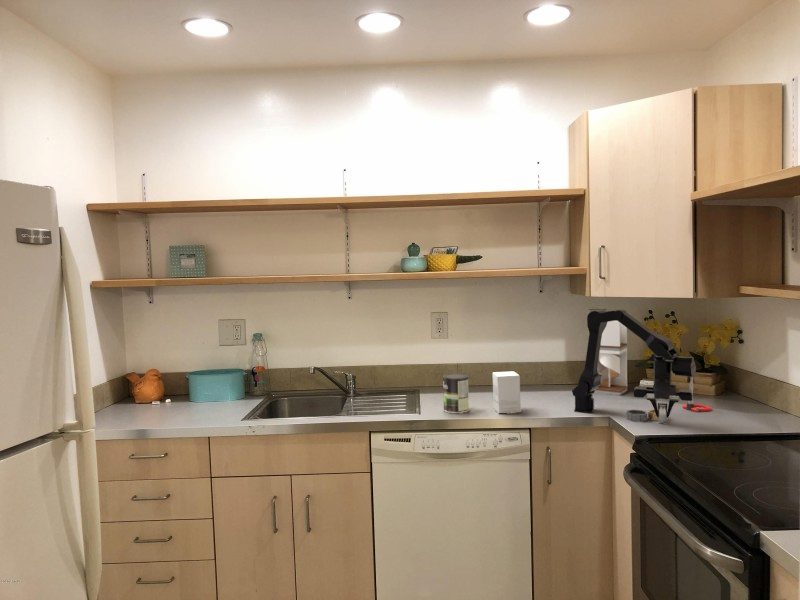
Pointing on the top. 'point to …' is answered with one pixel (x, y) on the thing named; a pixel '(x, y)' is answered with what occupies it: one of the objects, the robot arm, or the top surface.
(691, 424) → the top surface
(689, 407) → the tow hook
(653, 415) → the small brass socket
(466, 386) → the coffee can
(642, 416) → the wide steel socket
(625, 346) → the spiral ramp tower
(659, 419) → the round-tipped metal peg
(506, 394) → the supplement box
